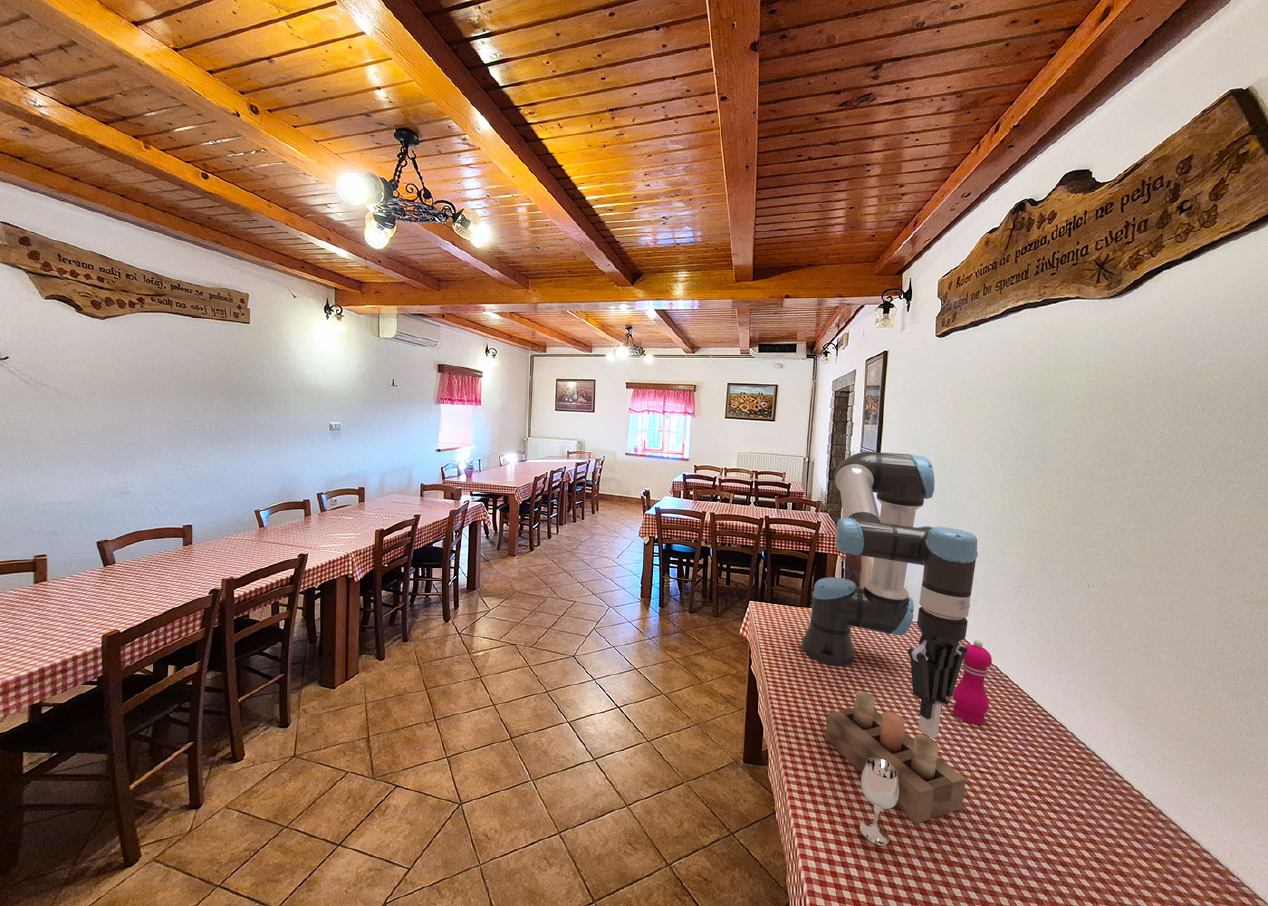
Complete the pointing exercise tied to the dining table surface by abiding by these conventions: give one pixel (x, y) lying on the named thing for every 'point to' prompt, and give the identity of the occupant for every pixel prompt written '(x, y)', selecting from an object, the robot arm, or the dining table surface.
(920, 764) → the near beech plug
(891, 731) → the rust plug
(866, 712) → the far beech plug
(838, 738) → the walnut socket block
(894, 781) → the wineglass
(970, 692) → the pepper mill
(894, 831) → the dining table surface
